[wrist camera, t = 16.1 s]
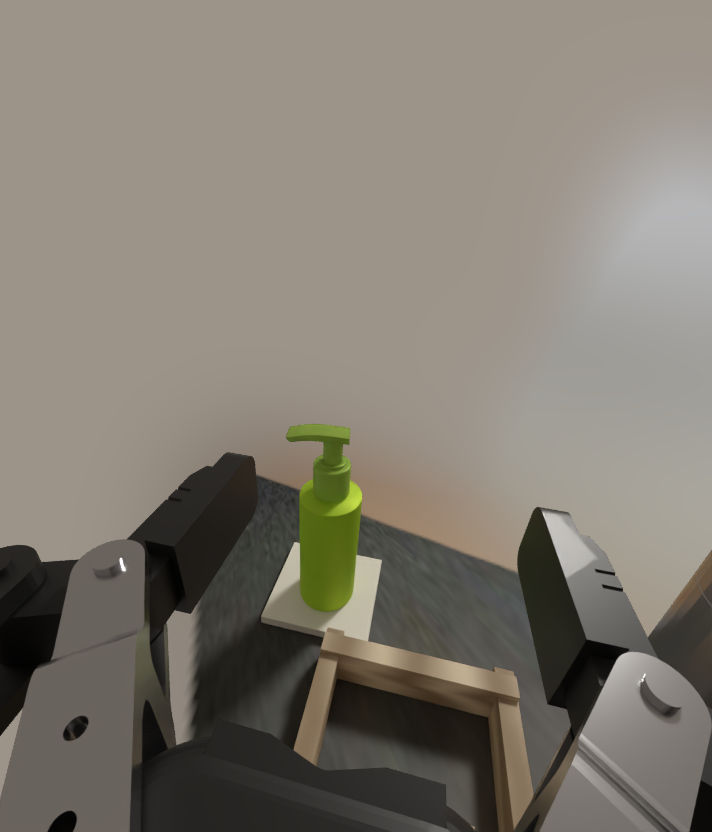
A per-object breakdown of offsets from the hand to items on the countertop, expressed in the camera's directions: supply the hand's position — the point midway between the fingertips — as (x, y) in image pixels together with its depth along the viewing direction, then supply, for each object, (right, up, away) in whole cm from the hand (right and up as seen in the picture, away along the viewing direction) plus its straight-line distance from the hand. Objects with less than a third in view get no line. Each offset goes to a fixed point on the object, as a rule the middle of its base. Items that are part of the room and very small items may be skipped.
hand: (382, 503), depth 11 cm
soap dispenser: (-4, -17, +30) cm, 35 cm away
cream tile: (-4, -17, +31) cm, 36 cm away
